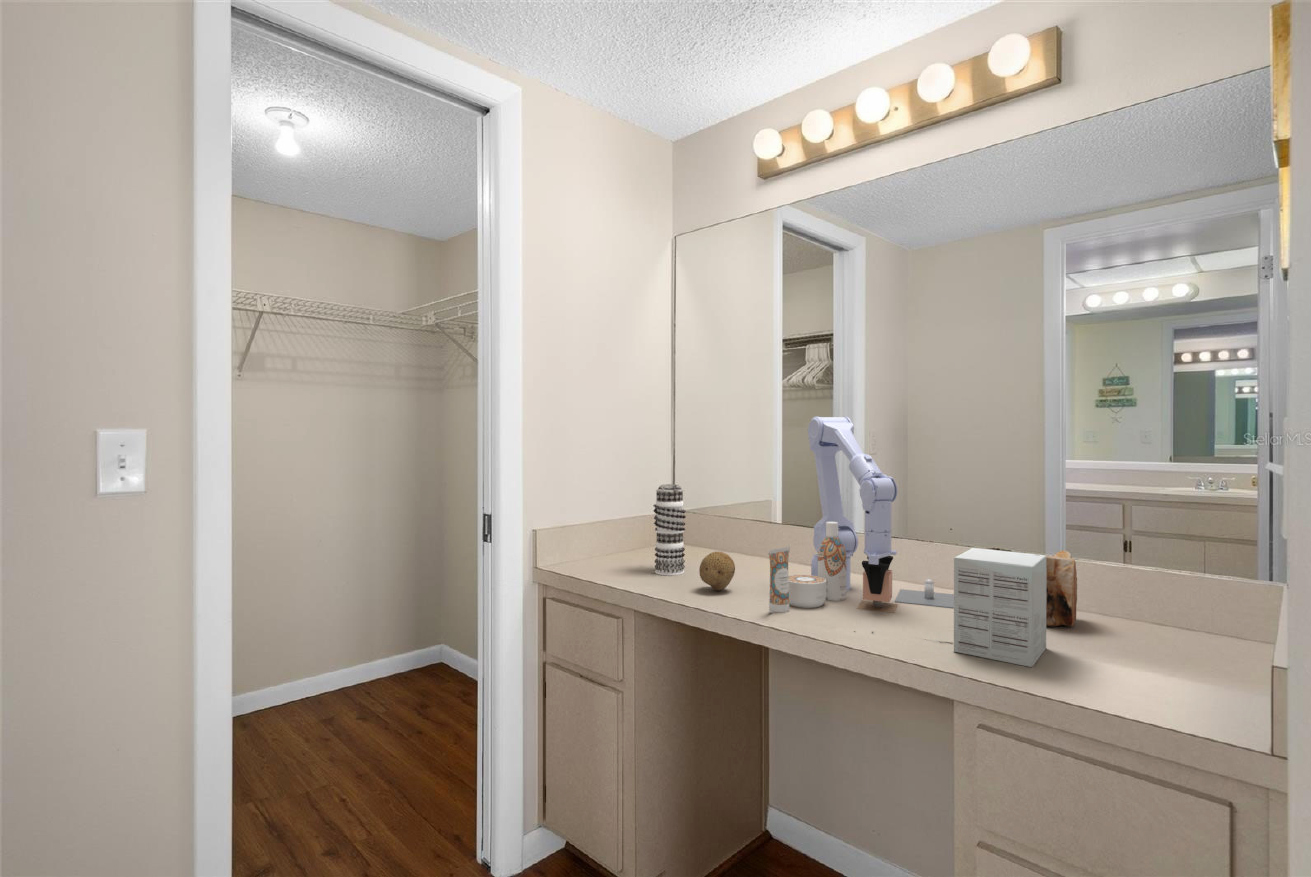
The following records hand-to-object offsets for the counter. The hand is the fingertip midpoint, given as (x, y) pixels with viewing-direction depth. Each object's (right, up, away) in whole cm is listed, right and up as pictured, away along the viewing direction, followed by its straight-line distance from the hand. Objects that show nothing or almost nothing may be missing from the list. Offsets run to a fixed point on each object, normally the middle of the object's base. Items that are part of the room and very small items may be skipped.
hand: (877, 590), depth 150 cm
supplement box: (+13, -5, -28) cm, 31 cm away
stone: (+34, -5, -11) cm, 36 cm away
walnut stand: (0, -4, 0) cm, 4 cm away
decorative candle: (-46, -4, +40) cm, 61 cm away
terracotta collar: (0, -2, 0) cm, 2 cm away
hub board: (+14, -4, +6) cm, 16 cm away
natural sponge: (-35, -4, +18) cm, 39 cm away
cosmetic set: (-15, -5, +3) cm, 16 cm away
